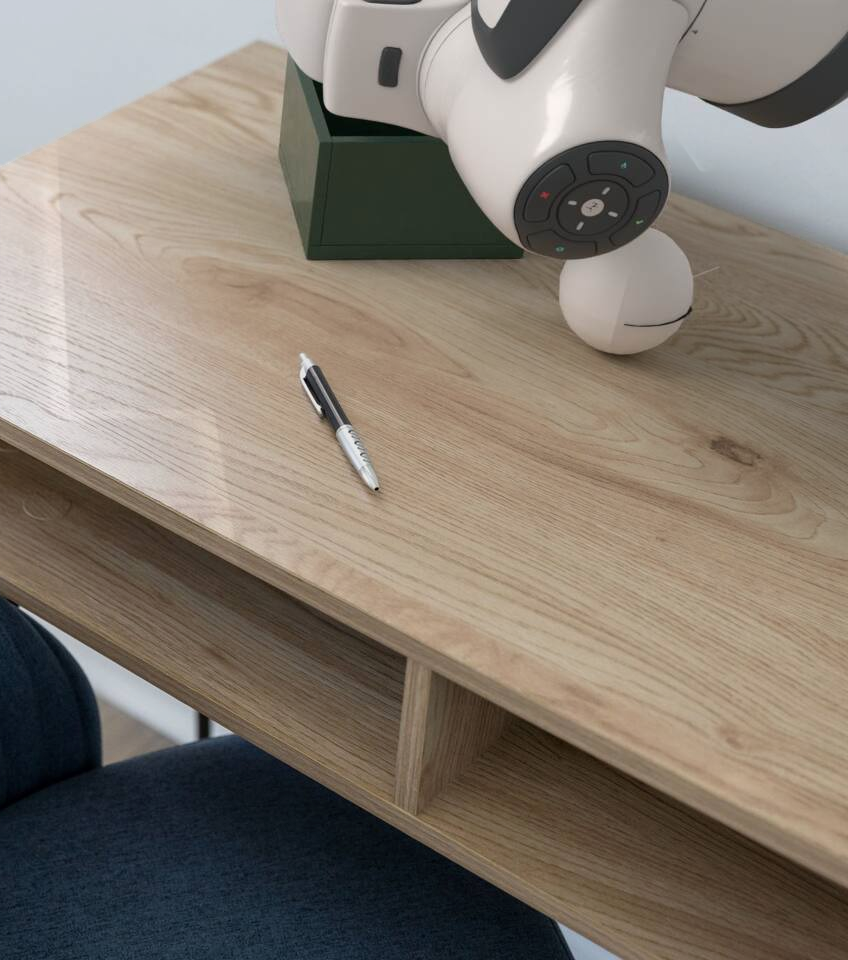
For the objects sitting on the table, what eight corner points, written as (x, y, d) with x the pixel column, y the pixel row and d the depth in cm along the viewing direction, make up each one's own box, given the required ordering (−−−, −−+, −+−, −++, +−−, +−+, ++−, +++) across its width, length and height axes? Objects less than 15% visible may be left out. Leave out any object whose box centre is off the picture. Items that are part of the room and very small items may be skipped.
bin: (474, 153, 111) (494, 43, 106) (523, 258, 101) (547, 141, 95) (277, 154, 110) (288, 43, 105) (306, 259, 100) (319, 142, 95)
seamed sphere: (577, 386, 90) (605, 274, 85) (528, 313, 96) (551, 204, 91) (743, 371, 92) (779, 259, 87) (685, 300, 97) (716, 192, 93)
